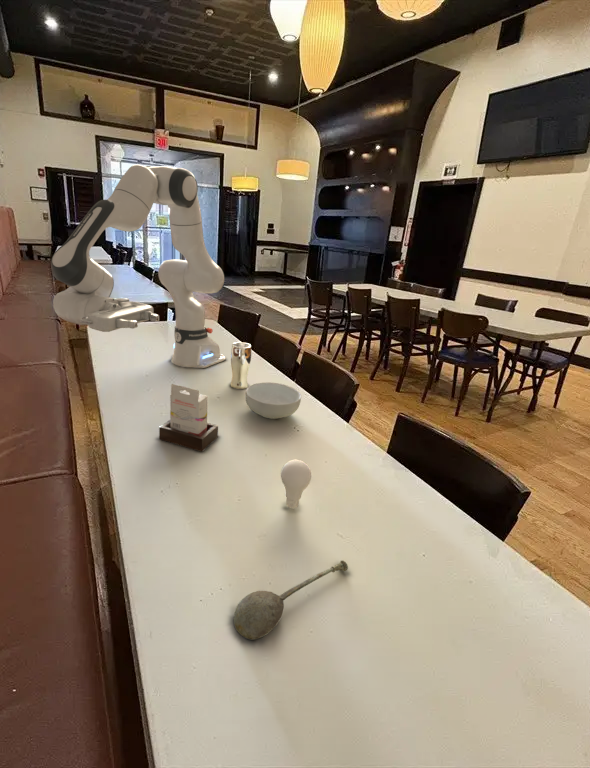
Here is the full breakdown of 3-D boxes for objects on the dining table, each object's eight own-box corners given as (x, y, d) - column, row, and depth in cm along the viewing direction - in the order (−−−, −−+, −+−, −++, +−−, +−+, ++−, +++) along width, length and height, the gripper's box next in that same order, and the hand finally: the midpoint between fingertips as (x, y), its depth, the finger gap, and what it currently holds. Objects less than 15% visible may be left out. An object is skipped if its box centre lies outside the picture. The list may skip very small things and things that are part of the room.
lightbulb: (272, 501, 87) (277, 456, 83) (297, 496, 89) (303, 452, 85) (285, 520, 82) (291, 473, 78) (311, 513, 84) (319, 467, 80)
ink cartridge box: (207, 436, 109) (209, 384, 104) (198, 444, 105) (199, 391, 100) (179, 428, 112) (180, 377, 107) (169, 436, 108) (169, 383, 102)
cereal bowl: (269, 431, 116) (272, 408, 113) (233, 409, 127) (234, 388, 125) (310, 417, 127) (313, 395, 124) (273, 398, 138) (275, 378, 135)
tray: (177, 425, 115) (177, 414, 113) (217, 437, 111) (218, 425, 109) (159, 439, 107) (159, 426, 106) (201, 451, 103) (202, 439, 102)
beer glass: (249, 383, 149) (253, 343, 143) (247, 390, 142) (250, 348, 137) (230, 381, 149) (233, 341, 144) (227, 388, 143) (230, 346, 137)
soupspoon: (224, 615, 62) (248, 653, 57) (225, 600, 60) (250, 638, 56) (331, 555, 74) (358, 583, 69) (334, 541, 72) (362, 568, 67)
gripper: (75, 308, 103) (120, 316, 98) (128, 297, 121) (168, 303, 116) (77, 332, 105) (121, 342, 101) (129, 318, 123) (168, 325, 118)
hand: (147, 321), depth 109 cm, fingers open, 8 cm apart
